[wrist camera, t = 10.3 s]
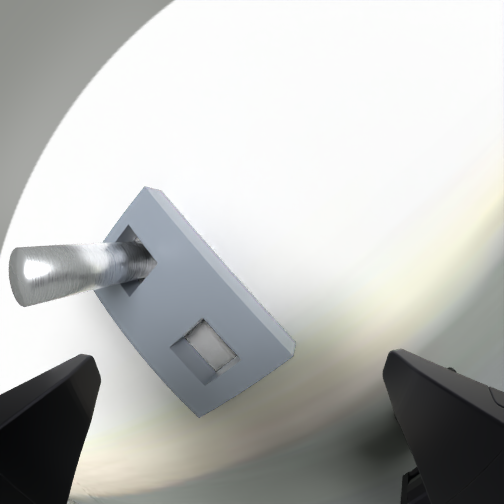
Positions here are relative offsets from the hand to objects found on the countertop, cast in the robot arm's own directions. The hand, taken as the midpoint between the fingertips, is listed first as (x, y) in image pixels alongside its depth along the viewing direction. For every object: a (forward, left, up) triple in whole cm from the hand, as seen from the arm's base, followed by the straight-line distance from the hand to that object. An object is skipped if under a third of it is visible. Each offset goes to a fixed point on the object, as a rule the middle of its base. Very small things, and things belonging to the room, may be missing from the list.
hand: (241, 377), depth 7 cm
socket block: (+5, +7, -13) cm, 15 cm away
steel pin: (+10, +7, -13) cm, 17 cm away
